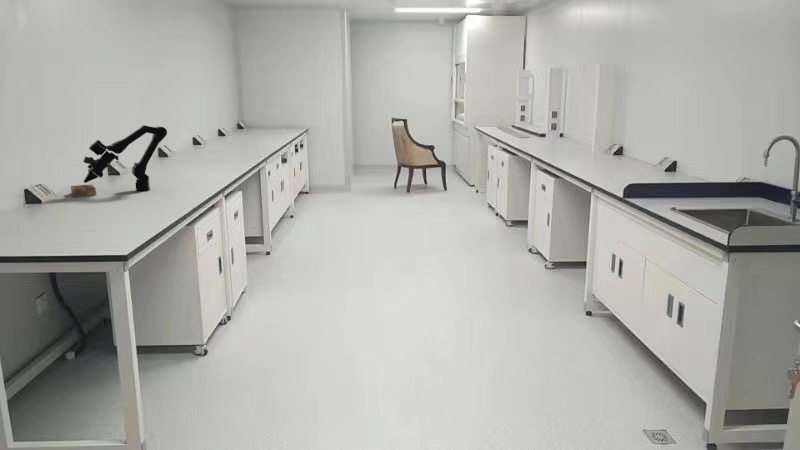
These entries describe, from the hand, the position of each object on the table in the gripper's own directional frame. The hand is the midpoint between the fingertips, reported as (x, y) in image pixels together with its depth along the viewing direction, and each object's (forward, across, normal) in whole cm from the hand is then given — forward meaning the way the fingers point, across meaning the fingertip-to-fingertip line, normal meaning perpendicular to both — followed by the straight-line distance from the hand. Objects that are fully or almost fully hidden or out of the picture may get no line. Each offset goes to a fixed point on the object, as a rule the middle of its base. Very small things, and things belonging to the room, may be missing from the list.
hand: (84, 182), depth 339 cm
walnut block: (0, 0, +6) cm, 6 cm away
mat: (+6, 0, +4) cm, 7 cm away
